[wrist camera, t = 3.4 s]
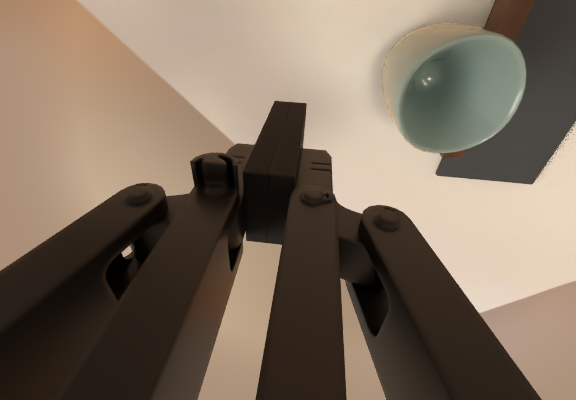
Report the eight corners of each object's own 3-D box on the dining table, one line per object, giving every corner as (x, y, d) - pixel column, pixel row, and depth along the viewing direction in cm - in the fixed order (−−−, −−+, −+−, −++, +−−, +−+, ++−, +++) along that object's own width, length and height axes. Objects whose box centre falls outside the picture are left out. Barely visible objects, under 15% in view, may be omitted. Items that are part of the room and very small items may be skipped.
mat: (435, 173, 33) (436, 175, 32) (551, -101, 19) (556, -103, 19) (529, 182, 32) (532, 184, 32) (715, -94, 19) (724, -96, 18)
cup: (462, 96, 27) (518, 141, 19) (379, 117, 29) (400, 165, 21) (466, 3, 23) (541, 11, 15) (369, 34, 25) (390, 56, 17)
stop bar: (435, 149, 31) (441, 157, 29) (513, -44, 21) (526, -46, 20) (454, 150, 31) (461, 158, 29) (540, -43, 21) (556, -45, 20)
